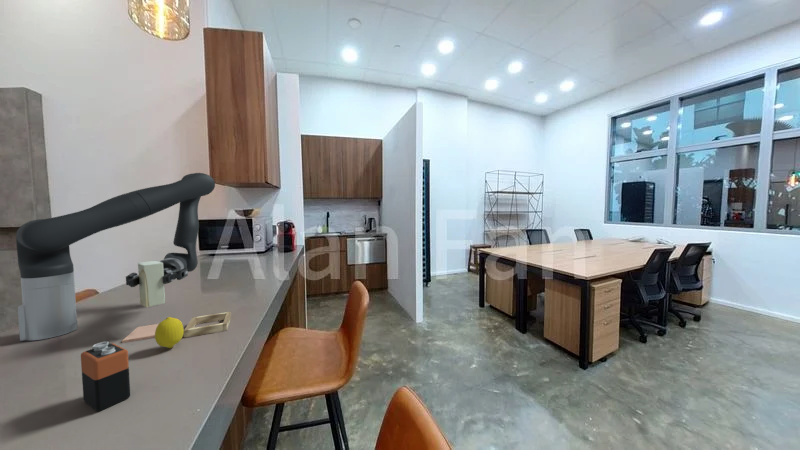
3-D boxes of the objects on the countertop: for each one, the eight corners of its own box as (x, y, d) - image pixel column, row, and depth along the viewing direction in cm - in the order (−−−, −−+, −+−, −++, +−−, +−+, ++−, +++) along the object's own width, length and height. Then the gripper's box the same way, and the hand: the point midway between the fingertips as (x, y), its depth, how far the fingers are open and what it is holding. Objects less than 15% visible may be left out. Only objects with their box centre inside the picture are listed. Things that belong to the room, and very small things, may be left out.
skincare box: (139, 304, 78) (136, 262, 77) (159, 299, 81) (156, 260, 81) (146, 308, 74) (142, 265, 73) (166, 303, 78) (163, 262, 77)
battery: (116, 387, 52) (113, 337, 52) (131, 397, 49) (128, 344, 49) (82, 401, 48) (79, 347, 48) (97, 413, 45) (93, 355, 45)
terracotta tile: (122, 342, 71) (121, 340, 71) (137, 328, 80) (137, 326, 80) (170, 334, 76) (170, 332, 76) (180, 322, 84) (179, 320, 84)
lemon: (167, 354, 64) (166, 322, 64) (149, 352, 66) (148, 320, 65) (190, 343, 70) (188, 313, 70) (172, 342, 71) (171, 312, 71)
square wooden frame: (183, 337, 73) (183, 330, 73) (193, 323, 83) (192, 317, 83) (227, 330, 78) (226, 323, 78) (231, 317, 88) (230, 311, 88)
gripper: (138, 261, 86) (112, 271, 72) (193, 257, 93) (180, 265, 78) (139, 284, 87) (114, 299, 72) (194, 278, 93) (181, 290, 79)
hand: (148, 281), depth 75 cm, fingers closed on skincare box, 6 cm apart
